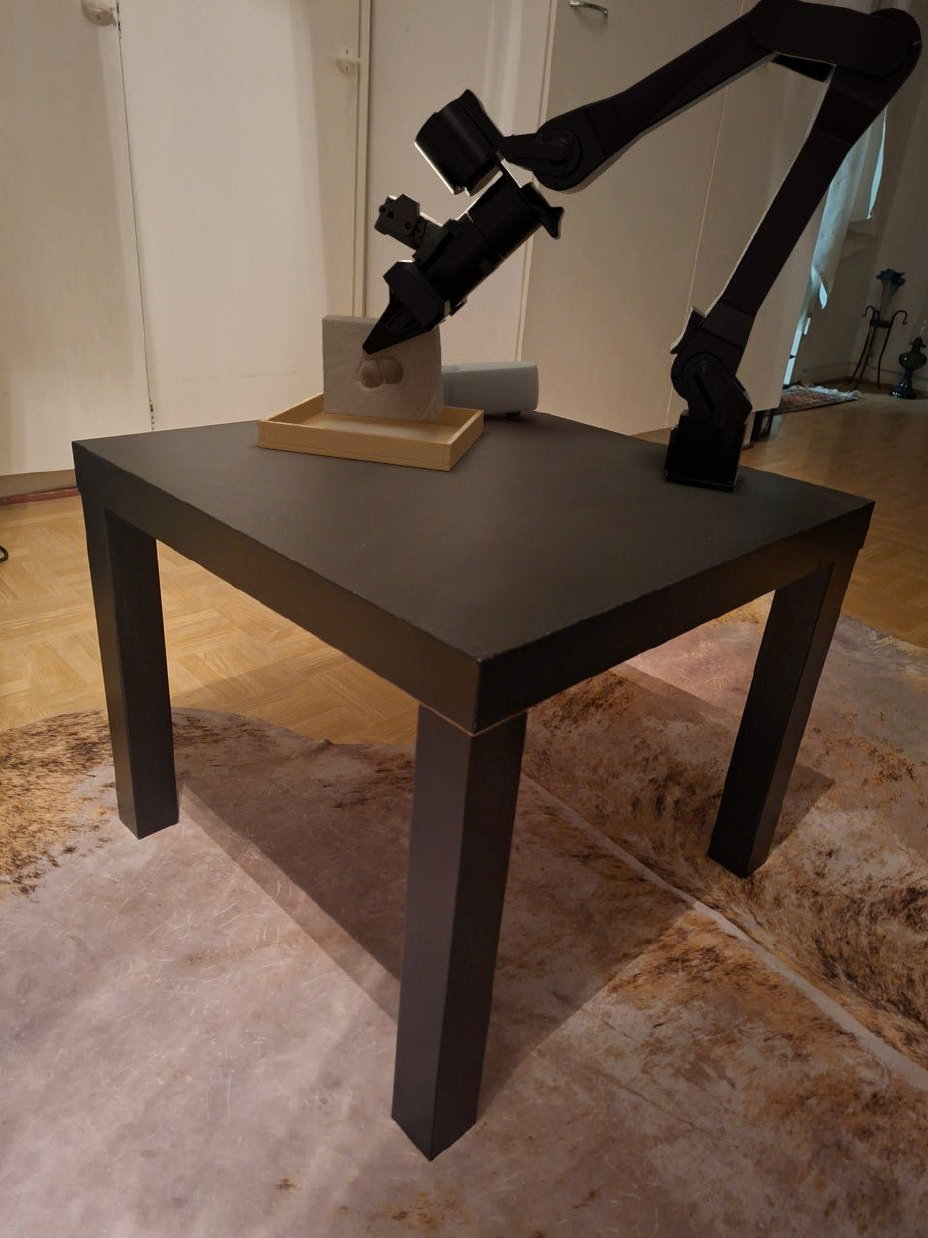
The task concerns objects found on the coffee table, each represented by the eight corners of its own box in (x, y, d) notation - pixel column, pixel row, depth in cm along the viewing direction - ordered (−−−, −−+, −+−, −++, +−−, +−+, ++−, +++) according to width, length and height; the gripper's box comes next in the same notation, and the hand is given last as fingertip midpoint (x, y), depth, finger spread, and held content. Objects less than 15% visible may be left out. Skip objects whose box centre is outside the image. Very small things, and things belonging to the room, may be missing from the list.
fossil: (322, 414, 86) (318, 317, 82) (331, 407, 90) (329, 313, 85) (436, 423, 85) (439, 324, 81) (442, 415, 88) (445, 320, 84)
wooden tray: (482, 433, 95) (484, 410, 94) (449, 471, 79) (450, 444, 78) (321, 414, 98) (321, 391, 97) (258, 447, 82) (257, 420, 81)
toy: (412, 434, 98) (542, 428, 97) (408, 378, 95) (541, 372, 94) (420, 413, 109) (536, 408, 108) (417, 362, 106) (536, 357, 105)
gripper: (442, 170, 85) (337, 279, 91) (410, 155, 69) (283, 289, 74) (512, 259, 88) (406, 359, 94) (499, 266, 71) (370, 387, 77)
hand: (369, 348), depth 85 cm, fingers closed on fossil, 3 cm apart
